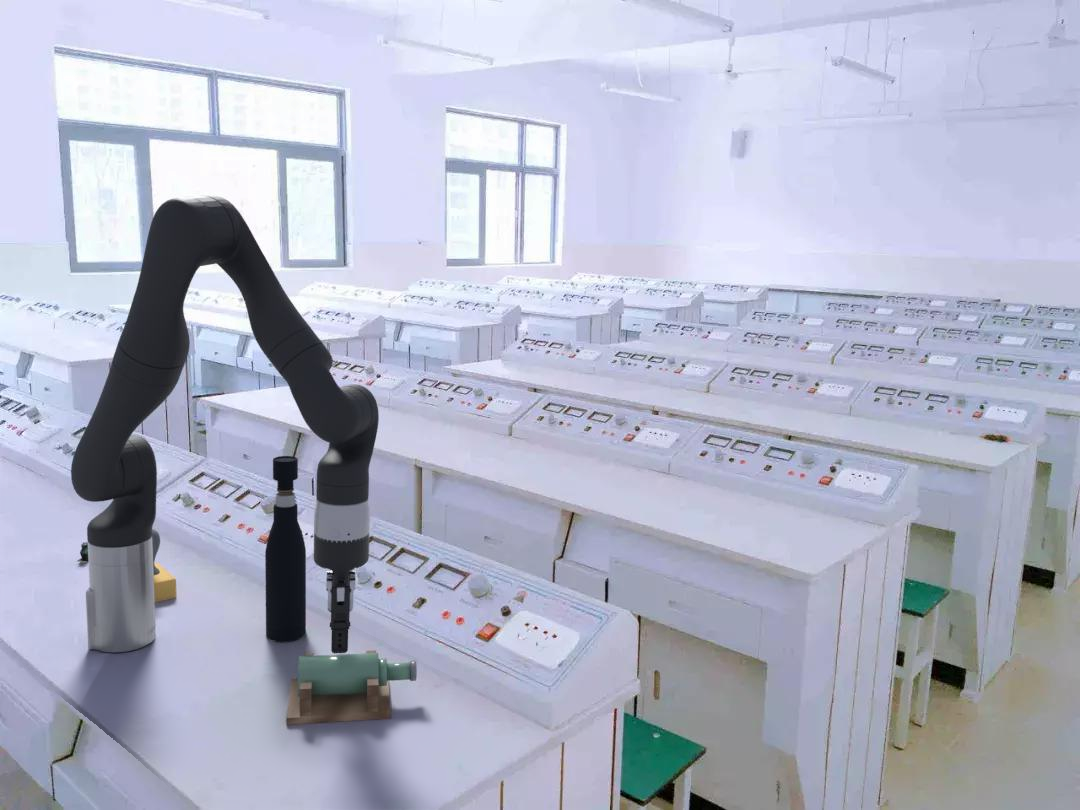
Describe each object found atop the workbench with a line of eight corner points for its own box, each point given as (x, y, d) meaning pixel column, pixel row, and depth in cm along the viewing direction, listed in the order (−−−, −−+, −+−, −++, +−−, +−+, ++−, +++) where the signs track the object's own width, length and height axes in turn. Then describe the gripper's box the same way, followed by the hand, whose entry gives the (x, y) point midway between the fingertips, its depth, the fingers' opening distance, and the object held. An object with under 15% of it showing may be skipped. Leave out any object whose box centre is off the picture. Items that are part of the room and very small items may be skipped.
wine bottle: (294, 644, 145) (294, 465, 139) (258, 639, 146) (256, 461, 141) (312, 628, 151) (312, 456, 146) (277, 623, 152) (276, 452, 147)
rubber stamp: (177, 597, 161) (175, 533, 159) (143, 605, 157) (141, 539, 155) (158, 580, 168) (156, 519, 166) (125, 586, 164) (123, 524, 162)
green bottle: (297, 704, 124) (297, 669, 123) (300, 683, 130) (300, 649, 128) (416, 698, 128) (417, 663, 126) (414, 677, 133) (415, 644, 132)
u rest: (286, 724, 122) (286, 690, 121) (291, 684, 132) (291, 653, 131) (390, 718, 125) (391, 685, 124) (387, 679, 135) (388, 649, 134)
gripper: (370, 547, 118) (367, 660, 121) (368, 512, 131) (365, 615, 135) (312, 548, 116) (310, 663, 119) (315, 513, 130) (314, 617, 133)
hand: (339, 638), depth 127 cm, fingers open, 8 cm apart
